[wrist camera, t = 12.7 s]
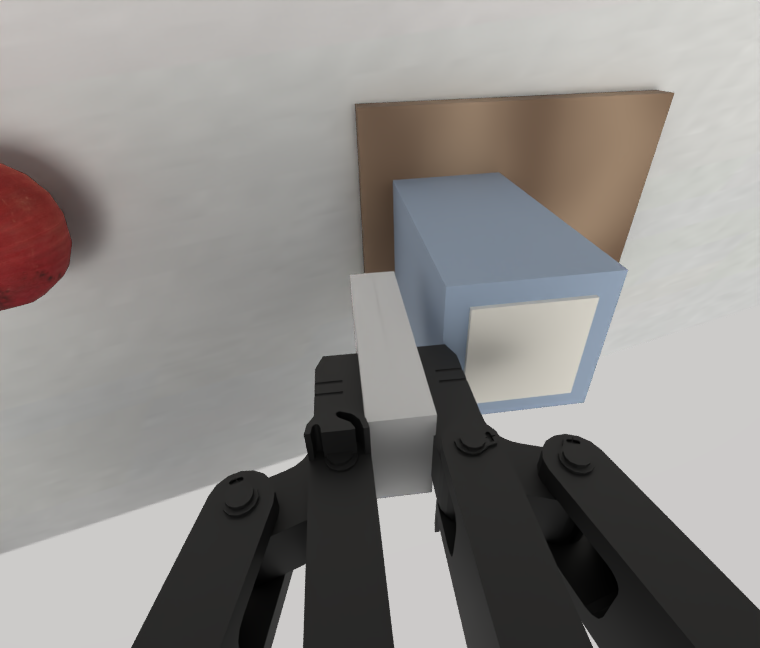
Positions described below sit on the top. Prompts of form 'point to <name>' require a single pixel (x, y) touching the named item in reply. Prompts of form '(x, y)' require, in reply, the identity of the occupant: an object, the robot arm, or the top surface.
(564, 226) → the block
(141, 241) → the top surface
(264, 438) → the top surface
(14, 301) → the red oval piece
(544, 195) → the board
